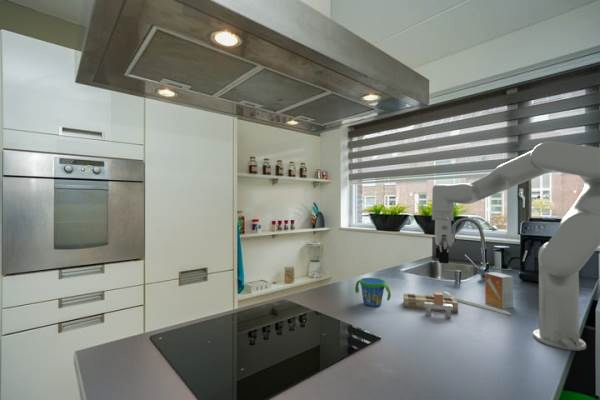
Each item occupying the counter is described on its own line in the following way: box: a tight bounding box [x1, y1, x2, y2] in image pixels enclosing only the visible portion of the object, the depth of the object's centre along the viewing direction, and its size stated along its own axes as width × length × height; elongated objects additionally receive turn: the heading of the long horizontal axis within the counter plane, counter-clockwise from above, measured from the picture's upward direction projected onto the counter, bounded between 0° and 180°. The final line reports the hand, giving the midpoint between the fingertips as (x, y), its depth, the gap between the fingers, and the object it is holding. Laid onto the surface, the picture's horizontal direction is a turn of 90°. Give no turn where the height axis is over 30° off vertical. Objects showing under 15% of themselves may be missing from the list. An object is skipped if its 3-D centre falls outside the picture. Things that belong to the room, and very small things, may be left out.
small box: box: [484, 271, 514, 310], centre depth 127 cm, size 8×6×13 cm
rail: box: [403, 292, 459, 314], centre depth 123 cm, size 7×20×4 cm, turn 73°
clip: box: [424, 291, 453, 319], centre depth 114 cm, size 3×10×9 cm, turn 73°
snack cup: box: [354, 277, 392, 308], centre depth 127 cm, size 16×10×10 cm
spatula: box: [441, 291, 512, 316], centre depth 127 cm, size 28×4×3 cm, turn 36°
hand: (441, 260), depth 115 cm, fingers open, 9 cm apart
